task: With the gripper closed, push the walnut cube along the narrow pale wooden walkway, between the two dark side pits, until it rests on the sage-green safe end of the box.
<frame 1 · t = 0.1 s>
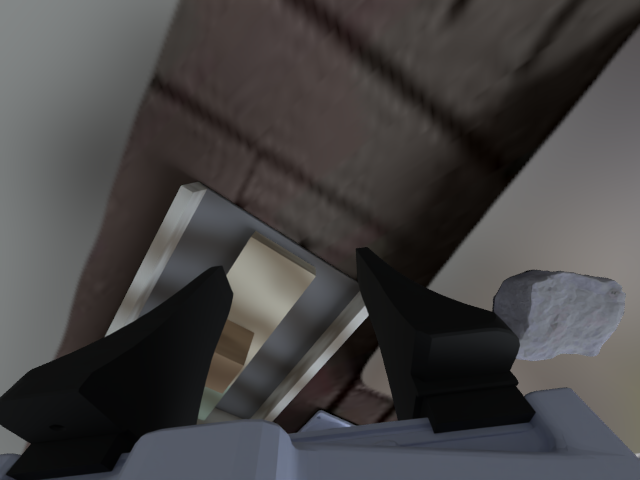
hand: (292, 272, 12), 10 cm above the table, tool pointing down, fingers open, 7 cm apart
stone block: (538, 300, 27), on the table
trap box: (226, 335, 26), on the table
walnut cube: (227, 337, 24), point 2 cm above the table, touching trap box
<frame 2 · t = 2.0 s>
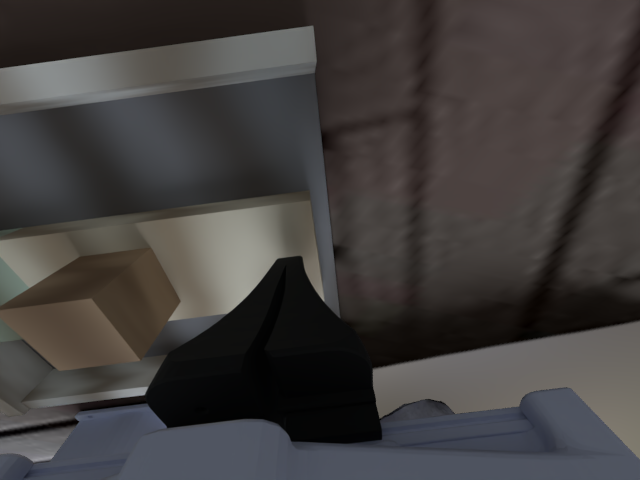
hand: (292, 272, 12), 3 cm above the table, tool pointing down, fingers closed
stone block: (422, 420, 29), on the table
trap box: (126, 263, 16), on the table
walnut cube: (133, 280, 14), point 2 cm above the table, touching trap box
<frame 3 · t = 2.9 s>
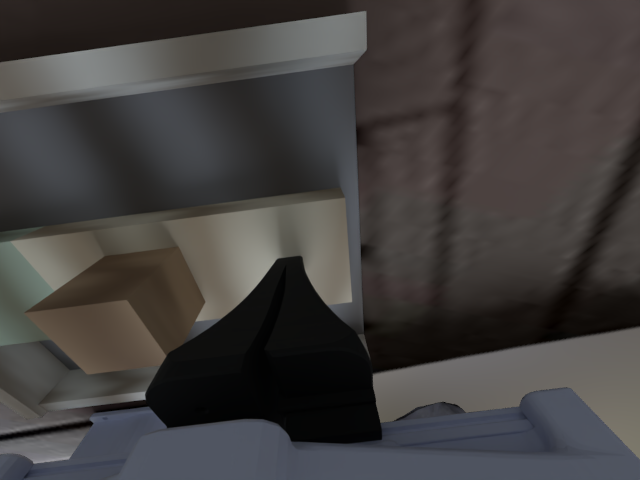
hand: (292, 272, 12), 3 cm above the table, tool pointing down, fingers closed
stone block: (435, 423, 29), on the table
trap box: (147, 263, 15), on the table
walnut cube: (158, 280, 13), point 2 cm above the table, touching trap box
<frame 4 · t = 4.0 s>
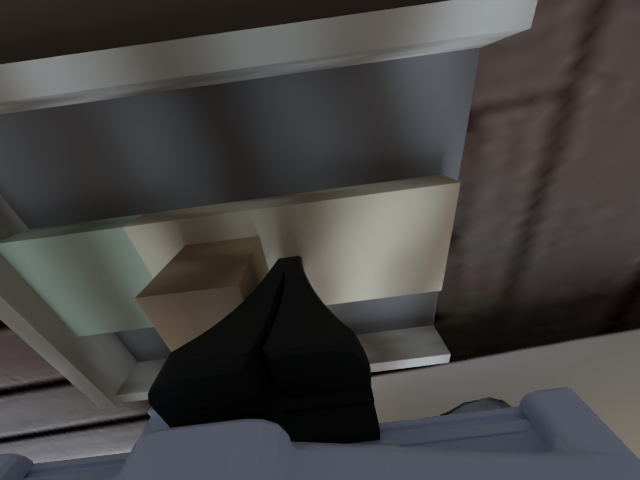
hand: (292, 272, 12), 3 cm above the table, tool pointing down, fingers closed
stone block: (477, 419, 29), on the table
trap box: (234, 252, 15), on the table
walnut cube: (233, 271, 13), point 2 cm above the table, touching gripper, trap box
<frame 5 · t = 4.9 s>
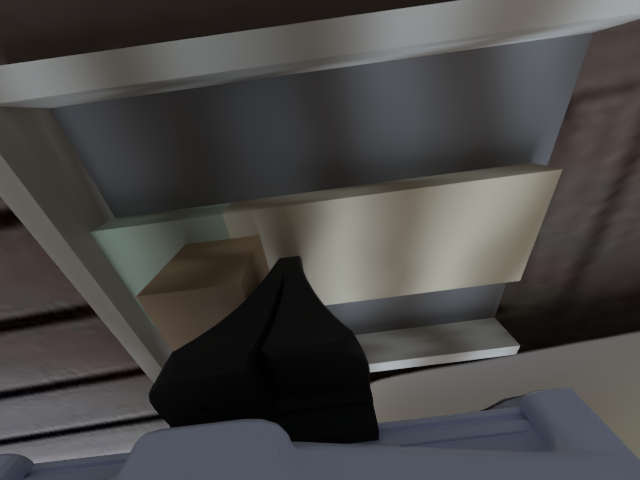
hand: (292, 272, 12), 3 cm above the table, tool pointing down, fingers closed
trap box: (310, 242, 15), on the table
walnut cube: (233, 270, 13), point 2 cm above the table, touching gripper
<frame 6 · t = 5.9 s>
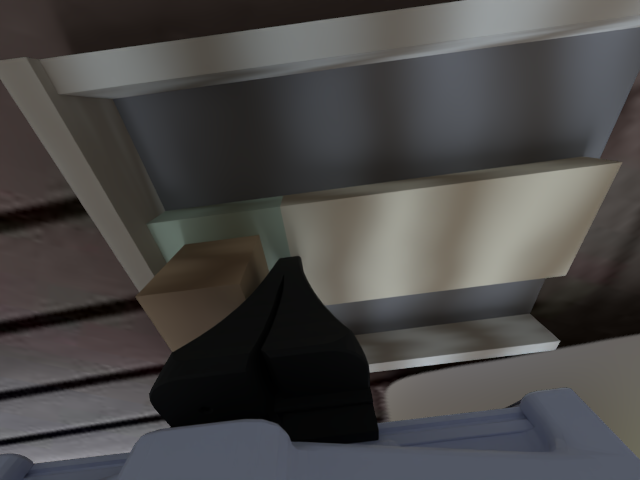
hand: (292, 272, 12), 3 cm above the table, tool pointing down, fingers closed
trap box: (354, 237, 15), on the table
walnut cube: (233, 270, 13), point 2 cm above the table, touching gripper, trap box
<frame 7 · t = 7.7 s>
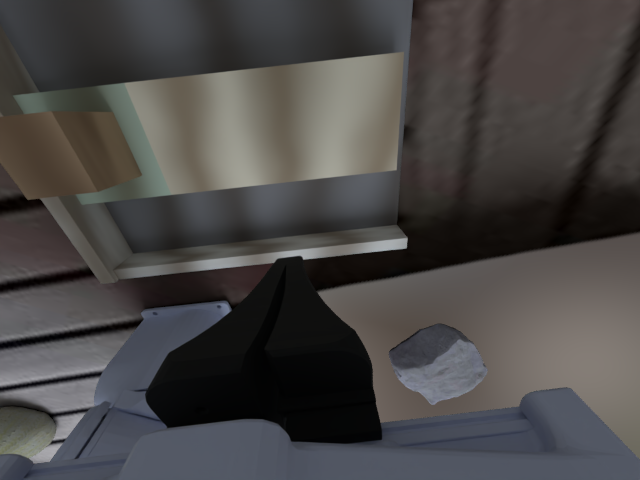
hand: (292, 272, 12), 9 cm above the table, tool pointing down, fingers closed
sea urchin shell: (30, 415, 35), on the table
stone block: (434, 351, 32), on the table
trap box: (219, 135, 17), on the table
walnut cube: (99, 148, 15), point 2 cm above the table, touching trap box
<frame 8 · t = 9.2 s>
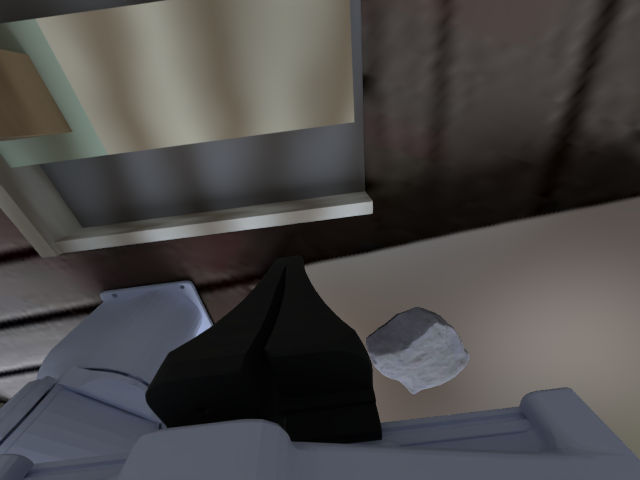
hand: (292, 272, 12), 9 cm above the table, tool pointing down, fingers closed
stone block: (415, 337, 31), on the table
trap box: (160, 89, 16), on the table
walnut cube: (19, 100, 14), point 2 cm above the table, touching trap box
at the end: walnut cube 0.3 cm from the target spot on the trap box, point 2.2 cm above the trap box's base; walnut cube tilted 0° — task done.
